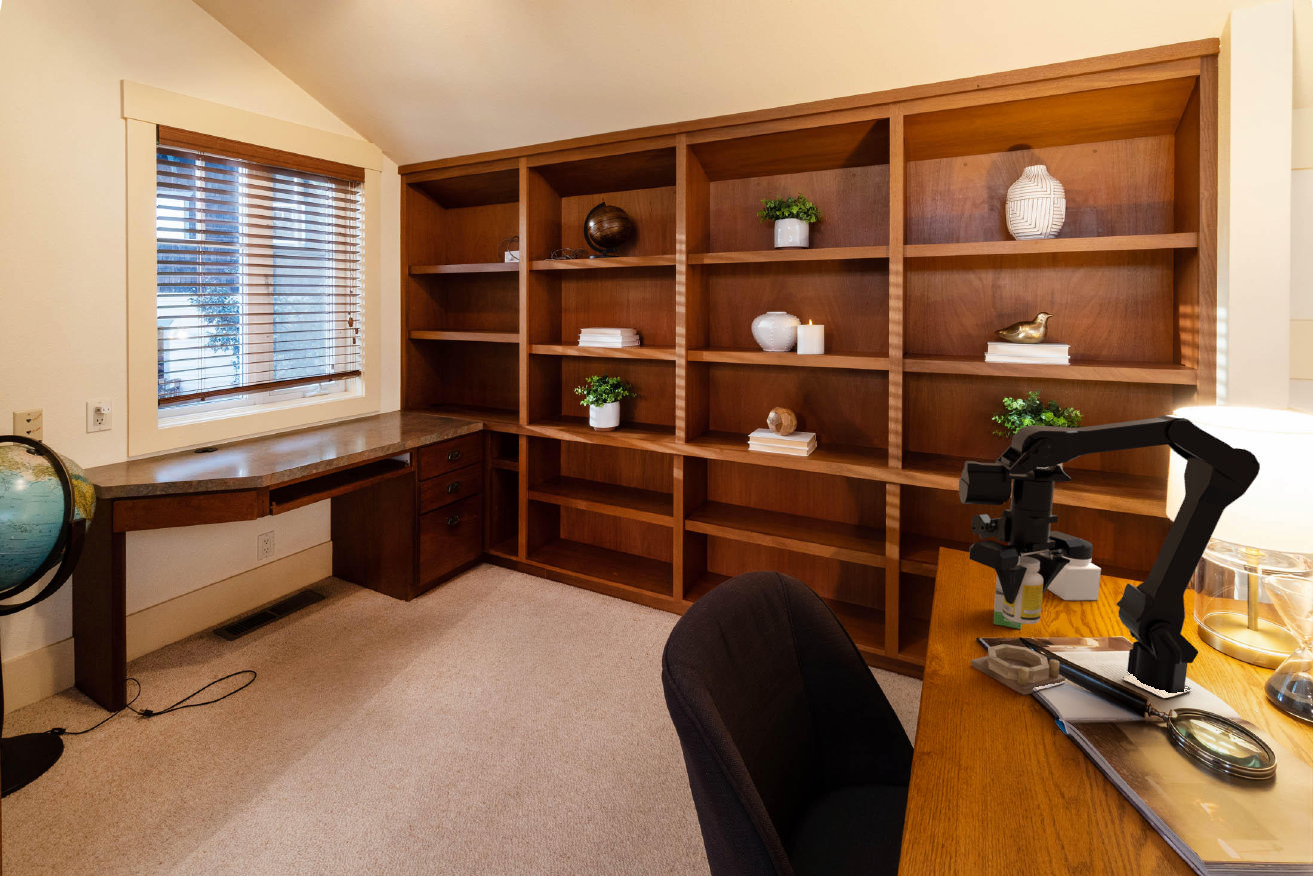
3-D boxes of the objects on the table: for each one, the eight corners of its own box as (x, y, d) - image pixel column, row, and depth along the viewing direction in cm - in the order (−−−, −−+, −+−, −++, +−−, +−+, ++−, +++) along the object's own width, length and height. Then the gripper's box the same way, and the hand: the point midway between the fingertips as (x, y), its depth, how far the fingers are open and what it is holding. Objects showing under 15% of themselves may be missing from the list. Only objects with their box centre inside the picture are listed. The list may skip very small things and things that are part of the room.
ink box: (1021, 630, 123) (1026, 570, 122) (992, 624, 126) (996, 565, 124) (1024, 614, 131) (1028, 557, 129) (996, 608, 133) (1000, 552, 131)
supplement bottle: (1044, 617, 106) (1049, 559, 105) (1034, 628, 103) (1040, 568, 101) (1007, 608, 110) (1012, 552, 109) (997, 618, 106) (1002, 560, 105)
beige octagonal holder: (1064, 683, 104) (1066, 663, 104) (1023, 695, 101) (1025, 674, 101) (1010, 655, 114) (1011, 637, 113) (971, 665, 110) (972, 646, 110)
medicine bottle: (1098, 600, 137) (1104, 545, 135) (1064, 600, 137) (1069, 545, 135) (1077, 587, 144) (1082, 535, 142) (1044, 588, 144) (1049, 535, 142)
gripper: (1029, 490, 114) (1022, 576, 117) (946, 500, 108) (939, 590, 110) (1091, 505, 104) (1081, 599, 106) (1003, 517, 97) (995, 616, 100)
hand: (1022, 600), depth 106 cm, fingers closed on supplement bottle, 5 cm apart
